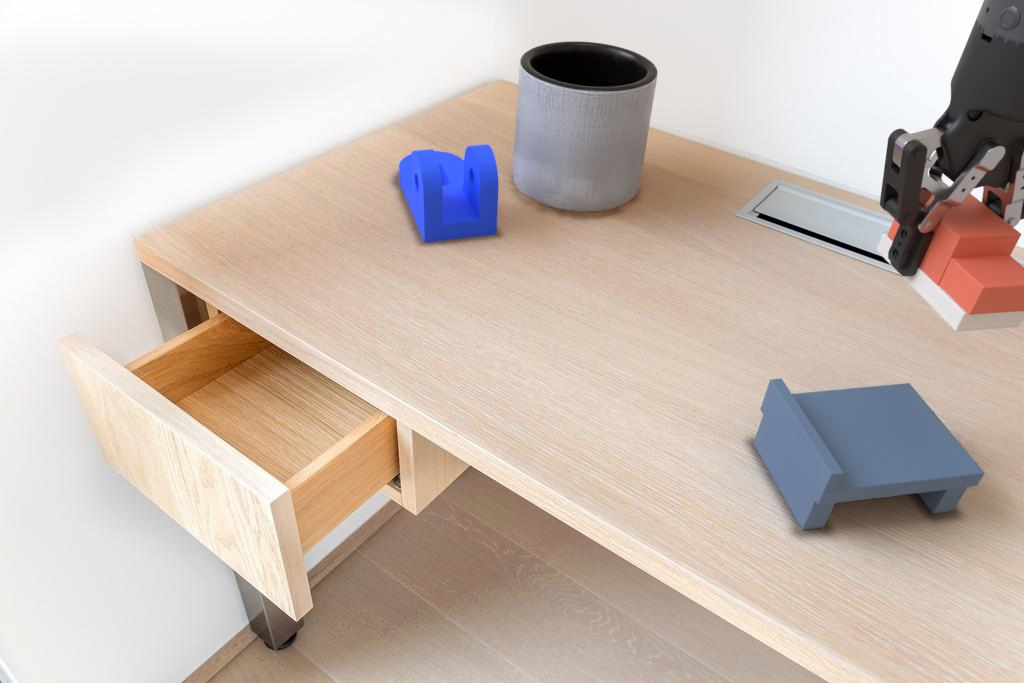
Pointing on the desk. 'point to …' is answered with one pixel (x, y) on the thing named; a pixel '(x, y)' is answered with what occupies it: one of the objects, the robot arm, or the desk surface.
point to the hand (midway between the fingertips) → (935, 267)
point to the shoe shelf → (859, 449)
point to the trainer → (969, 268)
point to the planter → (582, 125)
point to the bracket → (452, 192)
